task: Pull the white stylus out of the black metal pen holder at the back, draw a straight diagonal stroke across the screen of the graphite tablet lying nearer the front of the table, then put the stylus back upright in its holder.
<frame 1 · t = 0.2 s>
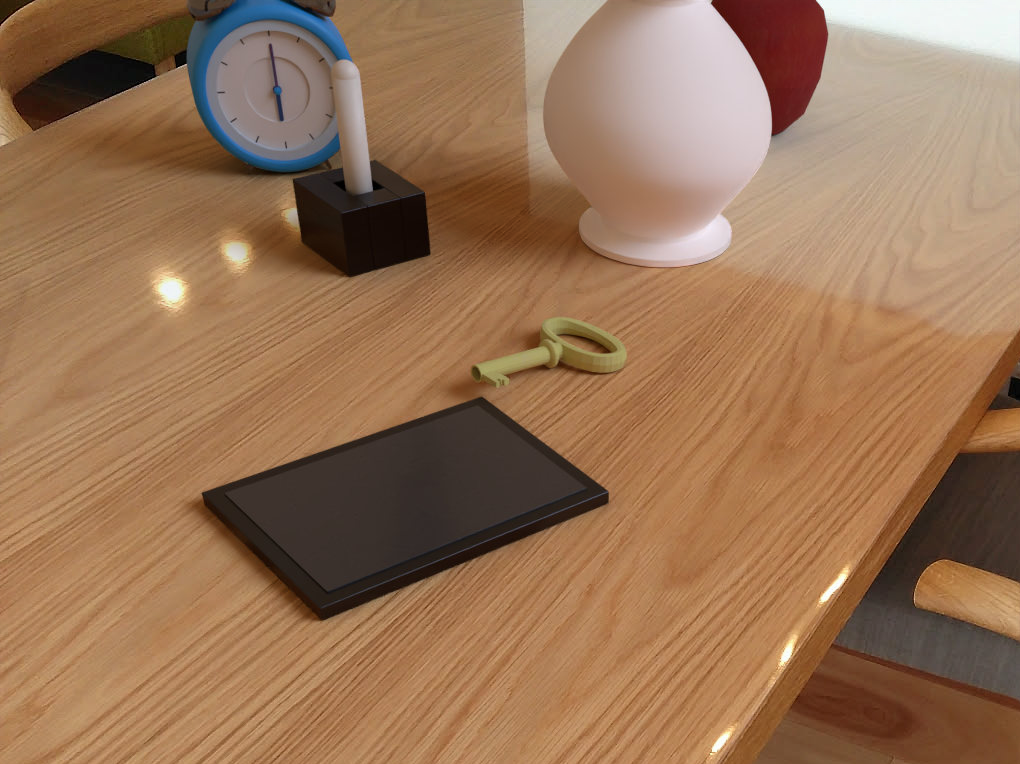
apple: (758, 129, 138), on the table
decorative vase: (655, 235, 120), on the table
stylus: (355, 158, 109), in the holder
key: (550, 369, 103), on the table
tablet: (410, 504, 89), on the table
holder: (366, 248, 114), on the table
alarm clock: (286, 164, 124), on the table
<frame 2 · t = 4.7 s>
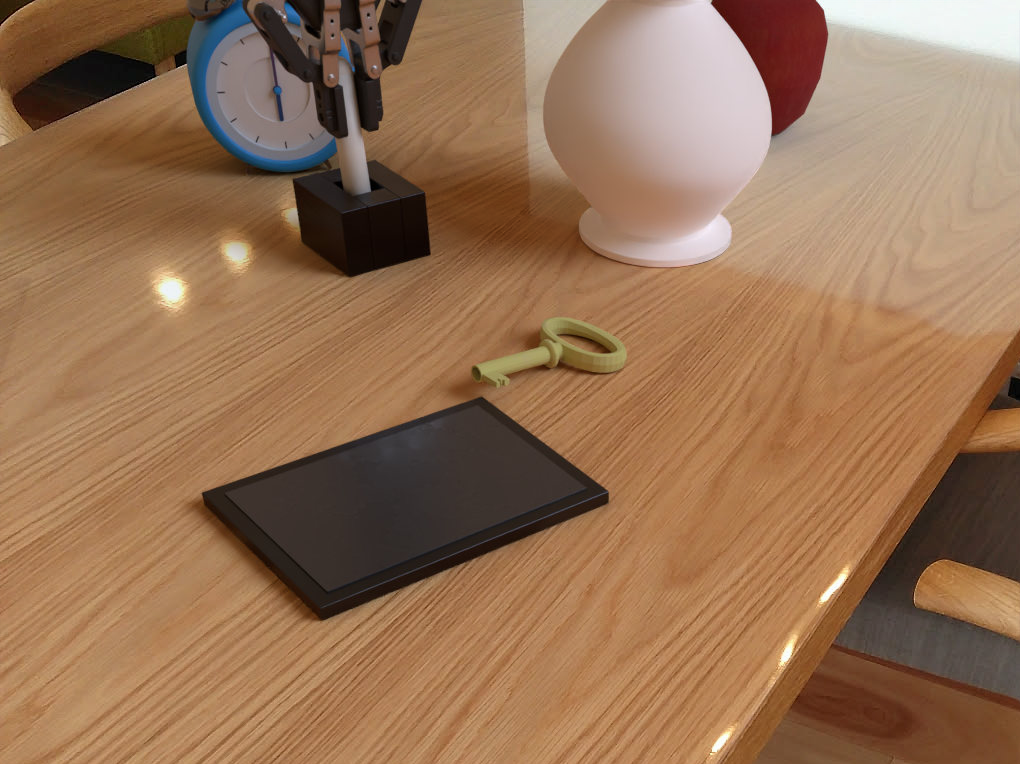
hand: (352, 130, 107), 9 cm above the table, tool pointing down, fingers closed on stylus, 2 cm apart
stylus: (351, 156, 109), in the holder, touching gripper
everything else where it was.
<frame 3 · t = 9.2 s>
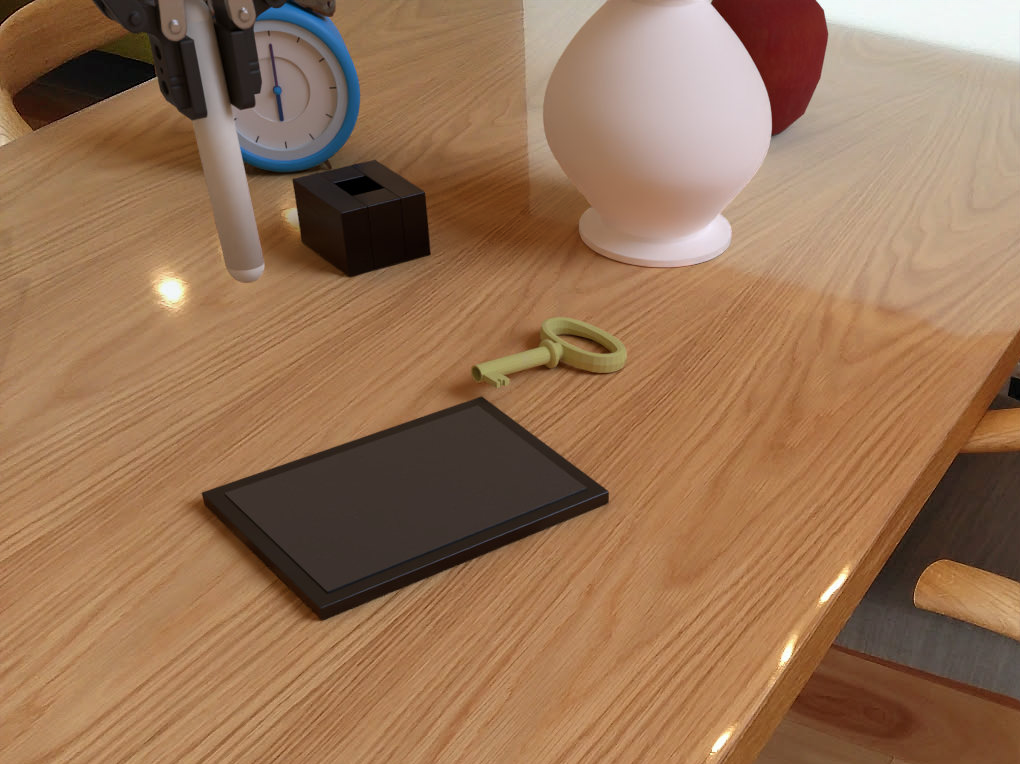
hand: (215, 107, 72), 24 cm above the table, tool pointing down, fingers closed on stylus, 2 cm apart
stylus: (218, 146, 73), point 21 cm above the table, touching gripper
everything else where it was.
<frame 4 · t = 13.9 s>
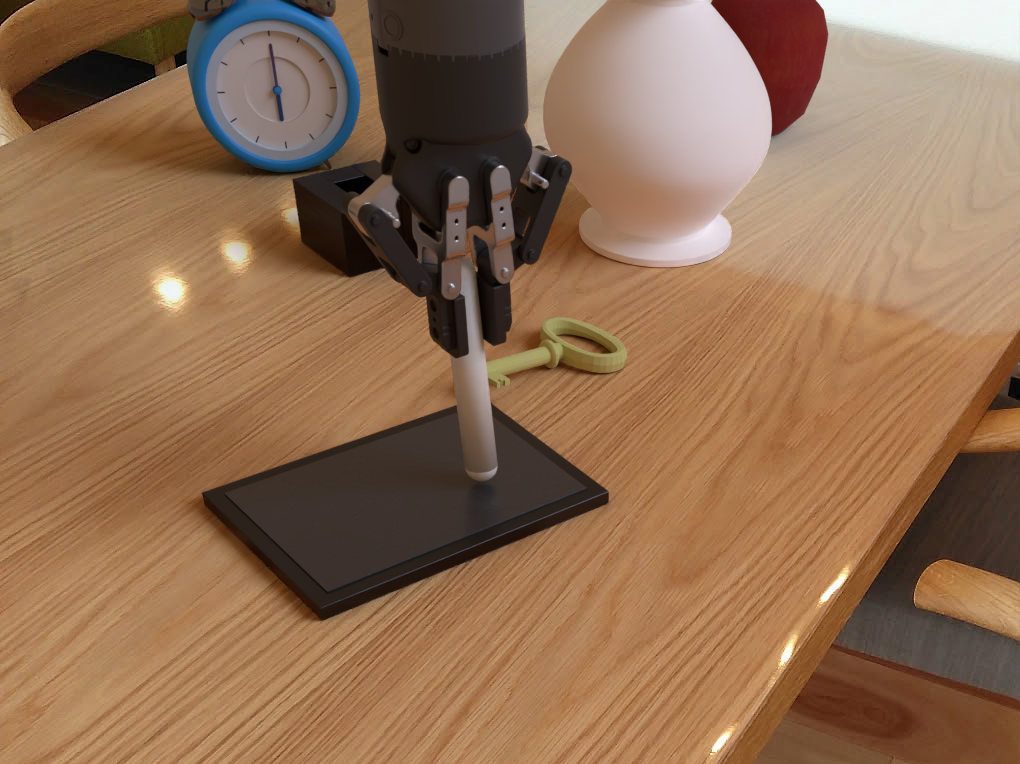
hand: (472, 344, 83), 10 cm above the table, tool pointing down, fingers closed on stylus, 2 cm apart
stylus: (470, 373, 85), point 8 cm above the table, touching gripper
everything else where it was.
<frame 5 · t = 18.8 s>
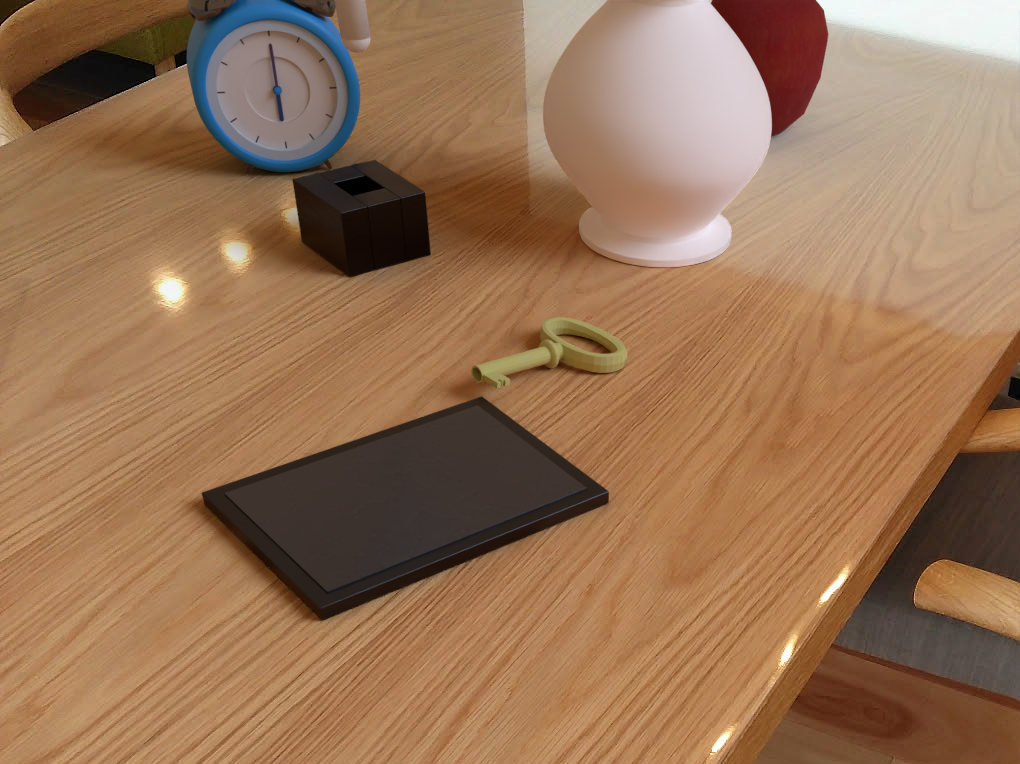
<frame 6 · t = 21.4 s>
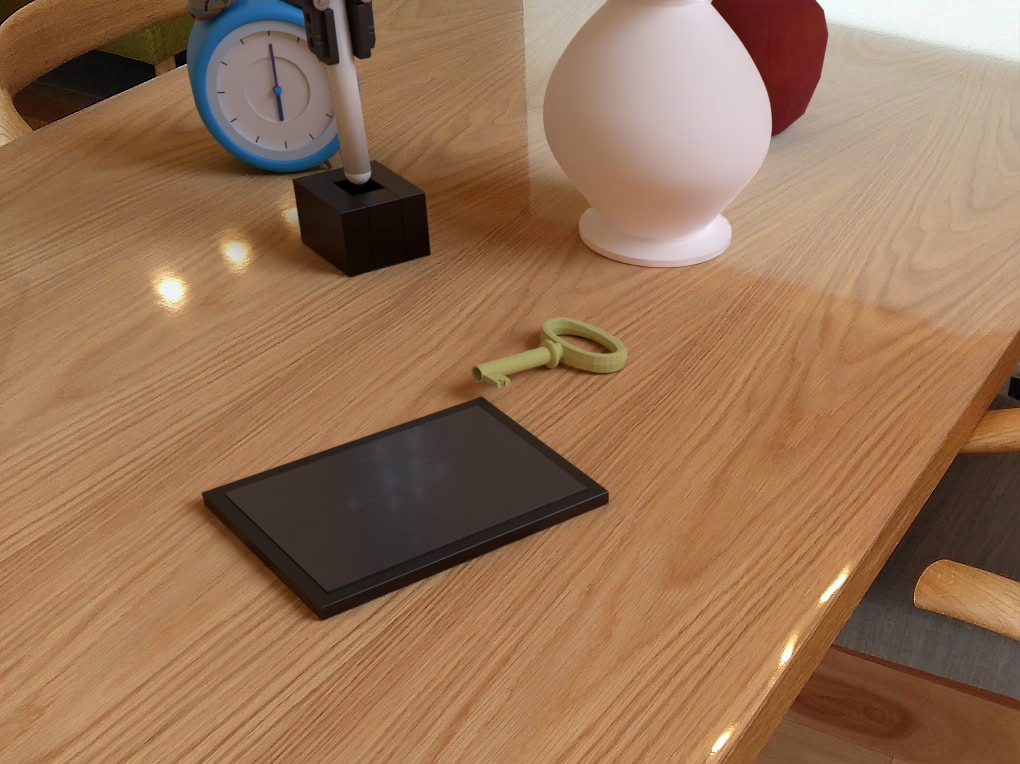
hand: (343, 57, 104), 14 cm above the table, tool pointing down, fingers closed on stylus, 2 cm apart
stylus: (343, 85, 106), point 12 cm above the table, touching gripper
everything else where it was.
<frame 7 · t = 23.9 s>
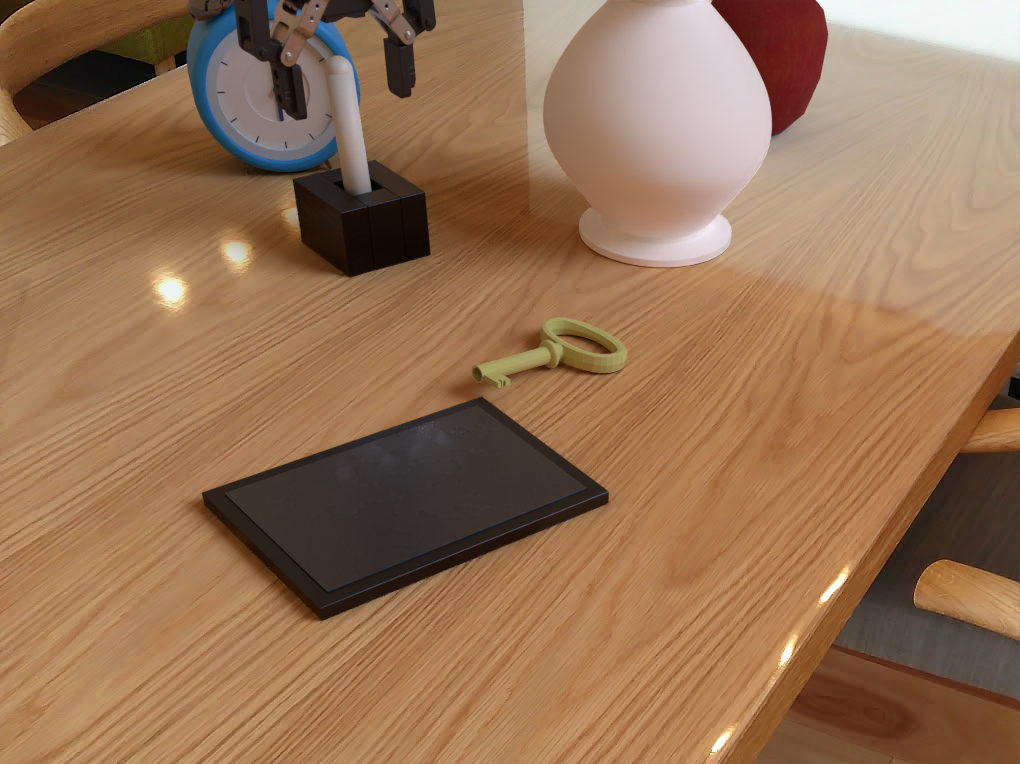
hand: (349, 105, 106), 11 cm above the table, tool pointing down, fingers open, 8 cm apart
stylus: (352, 156, 109), in the holder
everything else where it was.
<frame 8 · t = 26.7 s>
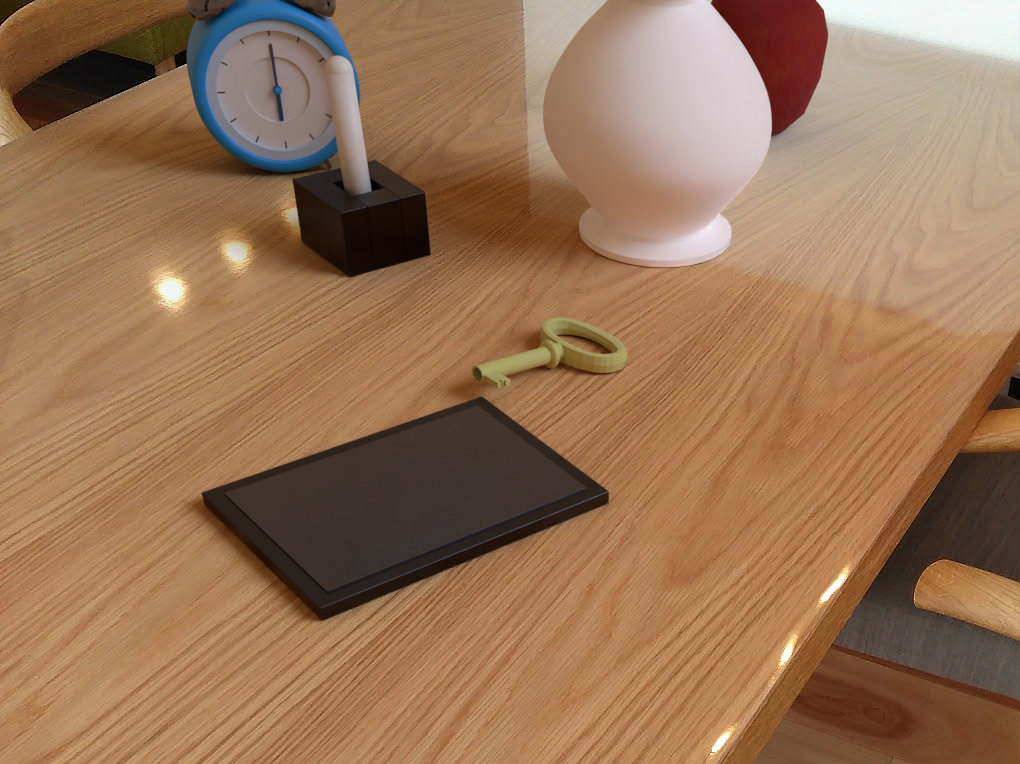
nothing on the table moved.
at the end: stylus 0.1 cm off-centre in the holder, point 7.0 cm above the holder's base; stylus tilted 5°; stylus touching holder, table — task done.
